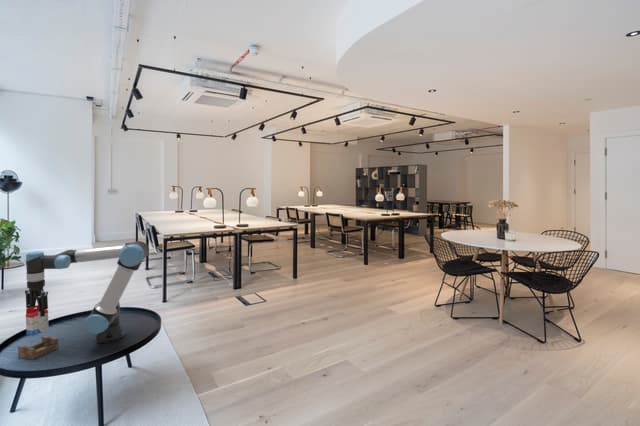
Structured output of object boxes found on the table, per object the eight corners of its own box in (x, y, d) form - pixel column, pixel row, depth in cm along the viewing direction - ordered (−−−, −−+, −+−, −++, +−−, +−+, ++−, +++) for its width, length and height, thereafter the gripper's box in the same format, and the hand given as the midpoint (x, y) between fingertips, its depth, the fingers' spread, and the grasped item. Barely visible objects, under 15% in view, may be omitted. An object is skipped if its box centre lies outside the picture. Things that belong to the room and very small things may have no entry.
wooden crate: (58, 348, 192) (57, 338, 192) (33, 360, 179) (32, 349, 179) (44, 346, 195) (43, 336, 194) (18, 357, 182) (18, 346, 181)
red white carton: (33, 336, 181) (32, 309, 180) (26, 335, 183) (24, 308, 181) (49, 329, 190) (48, 304, 188) (42, 328, 191) (41, 303, 190)
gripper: (55, 279, 185) (57, 320, 187) (30, 276, 190) (32, 316, 191) (41, 283, 178) (43, 326, 180) (15, 280, 182) (17, 321, 184)
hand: (37, 321), depth 186 cm, fingers closed on red white carton, 5 cm apart
